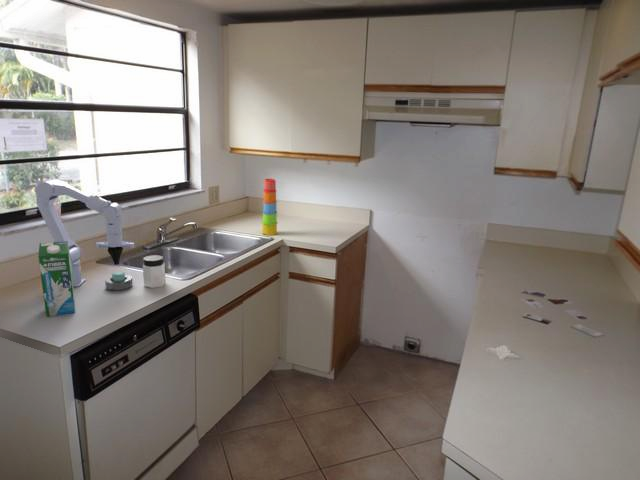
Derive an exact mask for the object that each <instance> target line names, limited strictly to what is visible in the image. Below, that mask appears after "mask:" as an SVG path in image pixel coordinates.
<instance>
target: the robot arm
mask: <svg viewBox="0 0 640 480" xmlns="http://www.w3.org/2000/svg"><path fill="white" fill-rule="evenodd" d="M34 192H35V194H36V205H37V208H38V211H39V212H40V214H41V217H42V219H43V220H44V222H45V225H46V227H47V229H48V231H49V233H50V235H51V237H52V239H53V242H63V241H68V243H69V252H70V261H71V269H72V278H73V287H75V288H76V287H80V286H82V284H83V283H84V282H85V281H86V278H83V277H82V267H81V261H80V259H81V258H82V257H83V251H82V249H81V247H79V246H78V244H77V243H76V241H74V240H72V239H70V235H69V234H68V231H67V230H66V227H65V226H64V224H63V222H62V219H61V217H60V215H59V213H58V211H57V209H56V207H55V205H54V204H55V202H56V200H57V198H58V197H61V196H66V197H69V198H71V199H75V200H77V201H80V202H81V203H84V204H85V206H86V208H89V209H90V210H93V211H94V212H96V213H99V214H101V215H102V216H103V217H104V219H105V227H106V228H105V229H106V239H107V240H106V241H101V242H100V241H98V242H96V243H95V248H96V249H99V248H100V249H101V248H102V249H103V248H107V251H106V252H108V254H109V255H110V257H111V258H112V262H113V264H114V265H115V266H116V265H117V266H119V264H120V259H121V255H122V253H123V251H124V249H125V248H126V249H128V248H129V249H134V248H135V242H131V241H130V242H129V241H123V230H122V216H121V215H122V213H123V207H122V205H121V204H120V203H118V202H116V201H115V202H112V201H111V200H106V199H104V198H102V197H101V196H100V195H99V194H92V195H89V194H87V193H85V192H83V191H81V190H79V189H78V188H75V187H74V186H72V185H70V184H68V183H67V182H66V181H64V180H61V179H59V178H52V179H50V180H46V181H41V182H38V183H37V185H36V187H35V188H34Z"/></svg>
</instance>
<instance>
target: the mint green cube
mask: <svg viewBox="0 0 640 480" xmlns="http://www.w3.org/2000/svg"><path fill="white" fill-rule="evenodd" d="M125 275H126V273H125V272H124V271H118V272H117V271H116V272H112V273H111V276H112V281H114V282H119V281H124V280H125Z"/></svg>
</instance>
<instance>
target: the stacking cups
mask: <svg viewBox="0 0 640 480" xmlns="http://www.w3.org/2000/svg"><path fill="white" fill-rule="evenodd" d="M276 183H277V182H276V179H274V178H265V179H264V181H263V200H262V202H263V210H262V215H263V216H262V221H261V224H262V231H261V234H262V232H263V233H264V234H266V235H265V236H276V235H278V234H279V233H278V231H277V230H278V229H277V227H278V225H277V224H278V223H279V222H278V221H277V220H278V219H277V217H278V216H277V215H278V211H277V202H278V201H277V187H276ZM275 234H276V235H275Z"/></svg>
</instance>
